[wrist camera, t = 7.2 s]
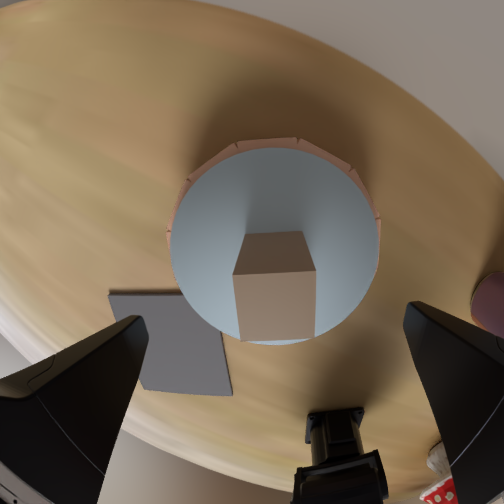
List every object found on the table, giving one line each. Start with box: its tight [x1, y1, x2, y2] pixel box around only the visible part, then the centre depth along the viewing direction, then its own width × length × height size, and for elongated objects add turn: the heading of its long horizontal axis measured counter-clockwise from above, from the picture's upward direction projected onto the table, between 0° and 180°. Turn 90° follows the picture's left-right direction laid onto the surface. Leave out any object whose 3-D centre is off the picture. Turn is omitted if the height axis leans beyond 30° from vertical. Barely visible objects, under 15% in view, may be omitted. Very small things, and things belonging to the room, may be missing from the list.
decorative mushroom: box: [420, 442, 458, 504], centre depth 24 cm, size 14×14×15 cm
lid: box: [170, 148, 379, 345], centre depth 13 cm, size 11×11×6 cm
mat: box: [108, 293, 233, 396], centre depth 25 cm, size 12×10×1 cm
